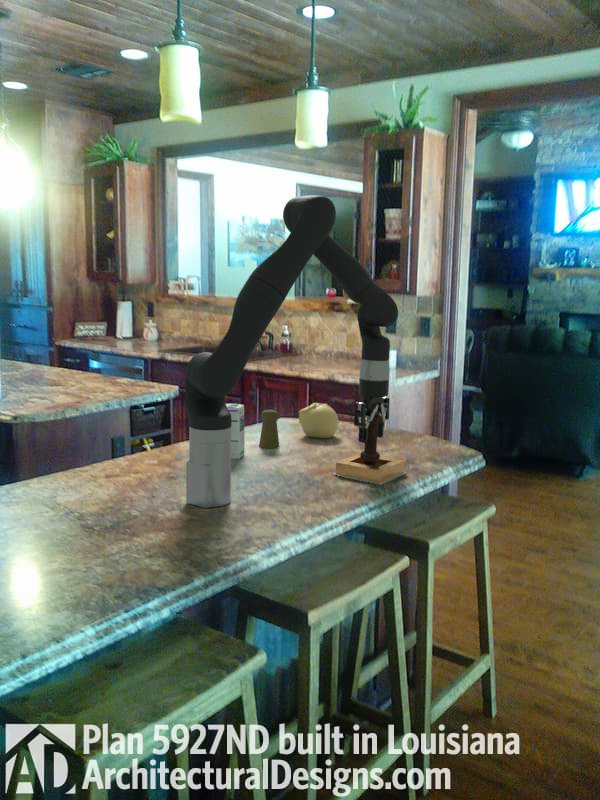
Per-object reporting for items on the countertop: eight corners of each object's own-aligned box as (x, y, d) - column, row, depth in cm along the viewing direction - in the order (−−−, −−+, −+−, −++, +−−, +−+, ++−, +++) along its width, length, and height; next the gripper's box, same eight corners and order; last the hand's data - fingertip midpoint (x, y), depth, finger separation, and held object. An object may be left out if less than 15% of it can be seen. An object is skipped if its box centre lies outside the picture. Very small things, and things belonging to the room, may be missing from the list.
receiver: (381, 485, 178) (381, 471, 177) (332, 475, 185) (333, 462, 185) (406, 473, 189) (407, 460, 189) (360, 464, 197) (360, 452, 196)
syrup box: (239, 459, 198) (240, 407, 196) (218, 458, 199) (219, 406, 197) (244, 454, 204) (245, 404, 201) (224, 453, 205) (224, 402, 202)
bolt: (380, 470, 189) (383, 414, 187) (380, 476, 184) (383, 418, 182) (358, 469, 190) (360, 413, 187) (357, 474, 185) (360, 417, 182)
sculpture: (320, 431, 237) (321, 398, 235) (345, 438, 228) (346, 404, 226) (293, 435, 230) (293, 401, 228) (317, 442, 221) (318, 408, 219)
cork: (255, 444, 215) (256, 408, 214) (274, 443, 218) (275, 407, 216) (263, 449, 210) (264, 412, 208) (282, 448, 213) (283, 411, 211)
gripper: (373, 381, 175) (370, 446, 178) (400, 376, 187) (396, 437, 189) (347, 378, 179) (344, 441, 182) (374, 373, 191) (371, 433, 194)
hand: (370, 439), depth 186 cm, fingers open, 8 cm apart
